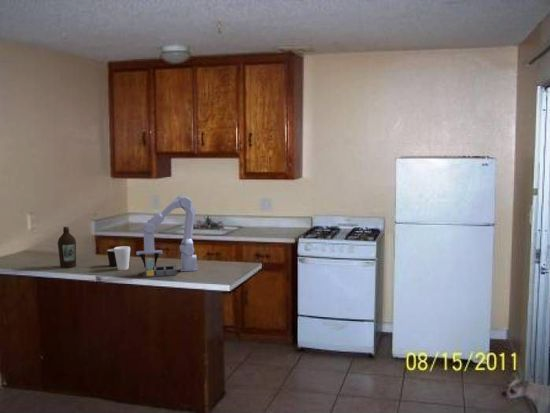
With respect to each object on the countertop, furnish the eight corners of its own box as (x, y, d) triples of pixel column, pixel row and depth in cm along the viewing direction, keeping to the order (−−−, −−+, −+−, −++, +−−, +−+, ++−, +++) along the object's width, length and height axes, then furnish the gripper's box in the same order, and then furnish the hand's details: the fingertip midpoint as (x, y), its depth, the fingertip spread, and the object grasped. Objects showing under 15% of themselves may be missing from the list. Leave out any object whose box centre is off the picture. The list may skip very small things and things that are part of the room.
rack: (176, 270, 341) (176, 265, 341) (177, 275, 328) (176, 269, 328) (143, 272, 338) (143, 266, 337) (143, 277, 325) (142, 271, 324)
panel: (153, 271, 336) (152, 258, 336) (153, 274, 329) (152, 261, 328) (147, 272, 336) (147, 258, 335) (147, 275, 328) (147, 261, 327)
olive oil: (57, 266, 359) (55, 226, 356) (74, 264, 365) (72, 225, 362) (61, 269, 350) (59, 228, 347) (79, 267, 356) (77, 227, 353)
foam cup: (118, 271, 342) (117, 249, 341) (112, 268, 349) (111, 247, 348) (133, 269, 348) (132, 247, 346) (127, 266, 355) (126, 245, 354)
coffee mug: (108, 267, 352) (107, 251, 351) (107, 265, 360) (106, 249, 359) (127, 265, 357) (127, 250, 356) (126, 263, 365) (125, 247, 363)
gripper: (161, 241, 336) (162, 264, 337) (136, 242, 333) (137, 265, 334) (162, 243, 329) (162, 266, 330) (136, 244, 326) (137, 268, 327)
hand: (150, 266), depth 332 cm, fingers open, 5 cm apart
